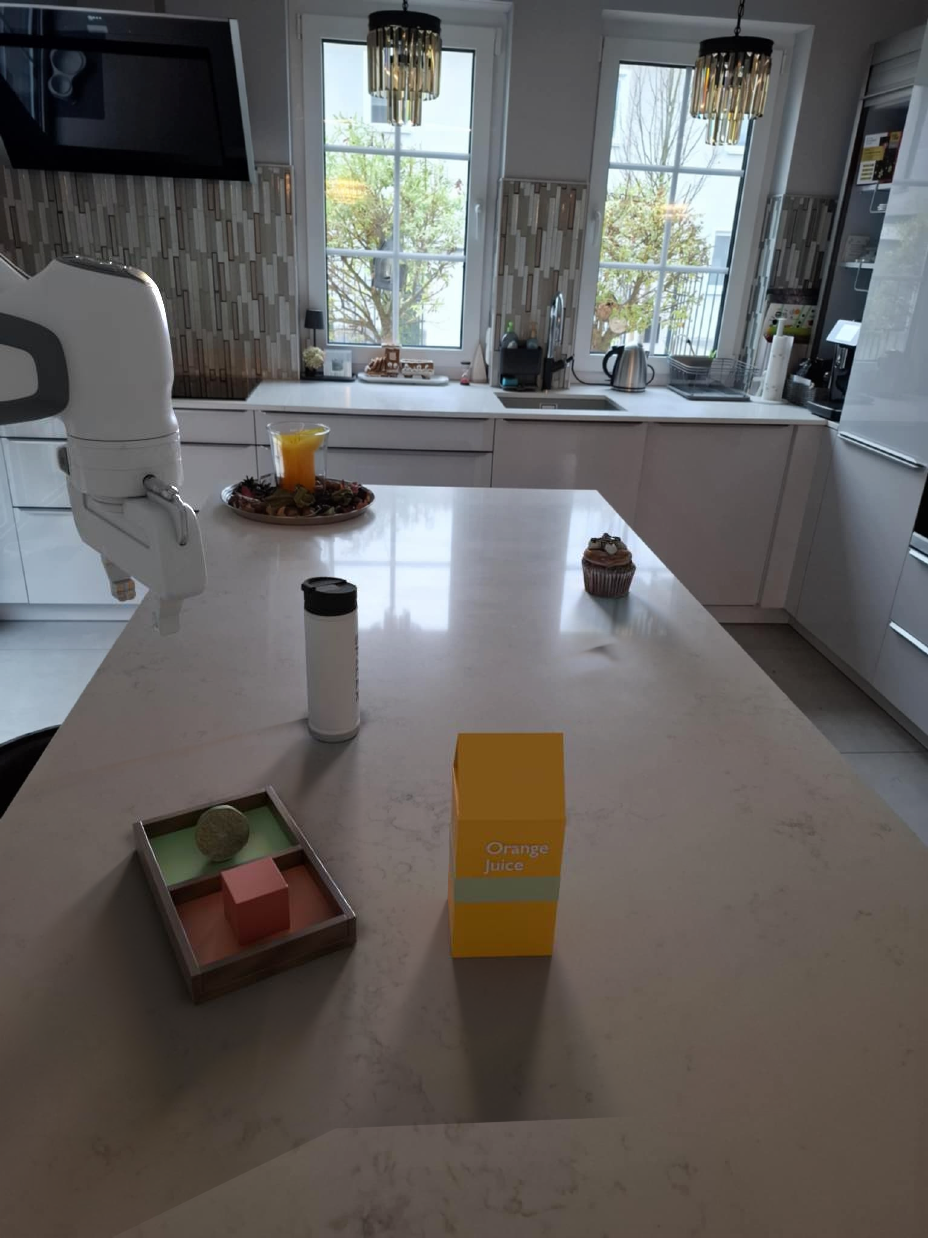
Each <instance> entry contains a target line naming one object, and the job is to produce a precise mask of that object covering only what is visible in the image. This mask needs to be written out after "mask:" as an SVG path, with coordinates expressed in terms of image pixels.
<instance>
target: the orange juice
mask: <svg viewBox="0 0 928 1238" xmlns="http://www.w3.org/2000/svg"><path fill="white" fill-rule="evenodd" d="M564 749H565V748H564V732H458V733H457V738H456V745H455V751H454V757H453V762H452V763H453V764H452V769H451V770H452V772H451V797H450V798H451V799H450V819H449V820H450V821H449V832H448V833H449V836H448V872H447V873H448V874H447V876H448V877H447V909H448V921H449V922H448V923H449V935H450V947H451V949H450V950H451V958H489V957H491V958H493V957H495V958H496V957H534V956H535V957H536V956H537V957H538V956H553V951H554V941H555V932H556V923H557V922H556V921H557V913H558V912H557V910H558V902H559V899H560V889H561V879H562V875H561V871H562V862H563V854H564V842H565V834H566V823H567V813H566V784H565V754H564V753H565V751H564Z"/></svg>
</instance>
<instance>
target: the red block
mask: <svg viewBox="0 0 928 1238" xmlns="http://www.w3.org/2000/svg"><path fill="white" fill-rule="evenodd" d="M221 883H222V894H223V904H224V913H225V915H226V918H227V920H228V922H229V924H230V926H231V928H232V930H233V933H234V935H235V937H236V939H237V941H238V943H239V945H240V946H241V945H244V944H247V943H249V942H252V941H255V940H258V939H260V938H263V937H266V936H269V935H272V934H274V933H277V932H280V931H283V930H286V929H288V928H290V911H289V893H288V886H287V884H286V882H285V881H284V879H283V877H282V876H281V874H280V872H279V870H278V869H277V867H276V865H275V863H274V862H273V860H272V858H271V857H268V858H265V859H262V860H259V861H256V862H252V863H249V864H246V865H243V866H240V867H237V868H233V869H230V870H227V871H224V872H221Z"/></svg>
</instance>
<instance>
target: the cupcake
mask: <svg viewBox="0 0 928 1238" xmlns="http://www.w3.org/2000/svg"><path fill="white" fill-rule="evenodd" d="M582 554H583V556H582V558H581V560H580V561H581V568H582V569H581V570H582V575H583V586H584V590H585V592H587V593H588V594H590V595H593V596H596V597H599V598H606V599H615V598H622V597H625V596H627V595H628V594H629V591H630V588H631V585H632V582H633V578H634V577H635V573H636V572H637V571H636V570H637V565H636V564H635V563H634V562H633V553H632V551H631V550H630V549H628V546H627V545H626V543H625V542H624V541H622V538H621V537H620V536H617V535H616V536H612V535H610V534H609V533H608V532H604V533H603V535H601V536H600V537H591V538H590V540H588V543H587V547H586V548H585V549H584V551H583V553H582Z"/></svg>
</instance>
